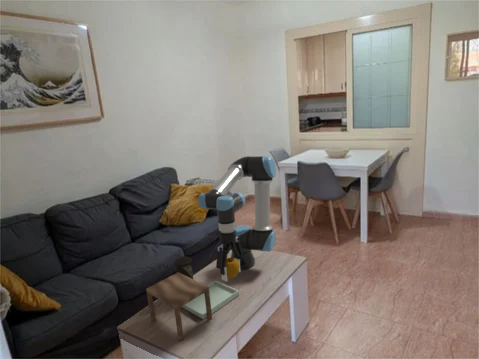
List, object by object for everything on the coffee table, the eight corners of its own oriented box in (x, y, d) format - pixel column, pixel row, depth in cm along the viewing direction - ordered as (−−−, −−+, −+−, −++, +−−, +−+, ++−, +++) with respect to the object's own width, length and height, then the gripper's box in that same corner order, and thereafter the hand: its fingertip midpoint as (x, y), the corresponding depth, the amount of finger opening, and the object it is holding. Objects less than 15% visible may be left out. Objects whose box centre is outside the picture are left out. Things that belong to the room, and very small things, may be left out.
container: (195, 297, 169) (191, 262, 165) (177, 299, 169) (172, 263, 164) (196, 288, 178) (192, 254, 173) (179, 290, 177) (174, 255, 173)
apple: (231, 269, 161) (230, 252, 159) (244, 275, 155) (242, 257, 153) (218, 277, 155) (216, 259, 153) (231, 283, 149) (229, 265, 147)
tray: (215, 284, 180) (215, 280, 179) (239, 295, 169) (238, 290, 168) (180, 306, 163) (179, 301, 162) (203, 319, 152) (202, 314, 151)
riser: (182, 301, 167) (178, 272, 163) (212, 319, 152) (208, 286, 148) (151, 320, 154) (146, 288, 150) (180, 341, 139) (176, 306, 136)
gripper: (236, 221, 160) (239, 263, 165) (204, 237, 144) (209, 283, 149) (248, 223, 155) (251, 267, 160) (217, 240, 139) (221, 289, 145)
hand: (231, 275), depth 155 cm, fingers closed on apple, 9 cm apart
